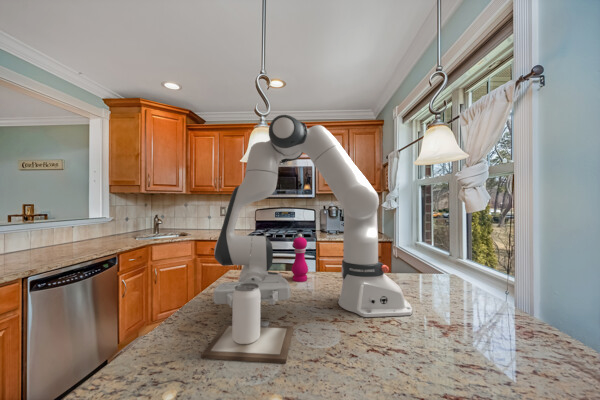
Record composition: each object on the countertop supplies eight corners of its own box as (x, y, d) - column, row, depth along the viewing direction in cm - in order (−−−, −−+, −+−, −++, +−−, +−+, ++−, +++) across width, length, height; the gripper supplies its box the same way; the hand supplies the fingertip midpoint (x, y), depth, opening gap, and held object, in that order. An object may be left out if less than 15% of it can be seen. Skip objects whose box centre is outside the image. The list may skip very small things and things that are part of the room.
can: (232, 332, 61) (233, 283, 61) (259, 329, 62) (259, 281, 63) (231, 347, 55) (231, 292, 55) (260, 343, 56) (261, 290, 56)
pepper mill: (308, 277, 111) (308, 232, 111) (307, 282, 104) (307, 234, 104) (292, 277, 112) (292, 232, 112) (290, 282, 105) (290, 234, 105)
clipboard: (293, 328, 65) (293, 323, 65) (285, 363, 51) (285, 355, 51) (226, 325, 67) (226, 320, 67) (201, 358, 52) (201, 350, 52)
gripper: (216, 275, 72) (208, 292, 59) (286, 272, 76) (293, 287, 63) (216, 297, 72) (207, 319, 59) (286, 293, 76) (293, 312, 62)
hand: (252, 302), depth 61 cm, fingers open, 8 cm apart
